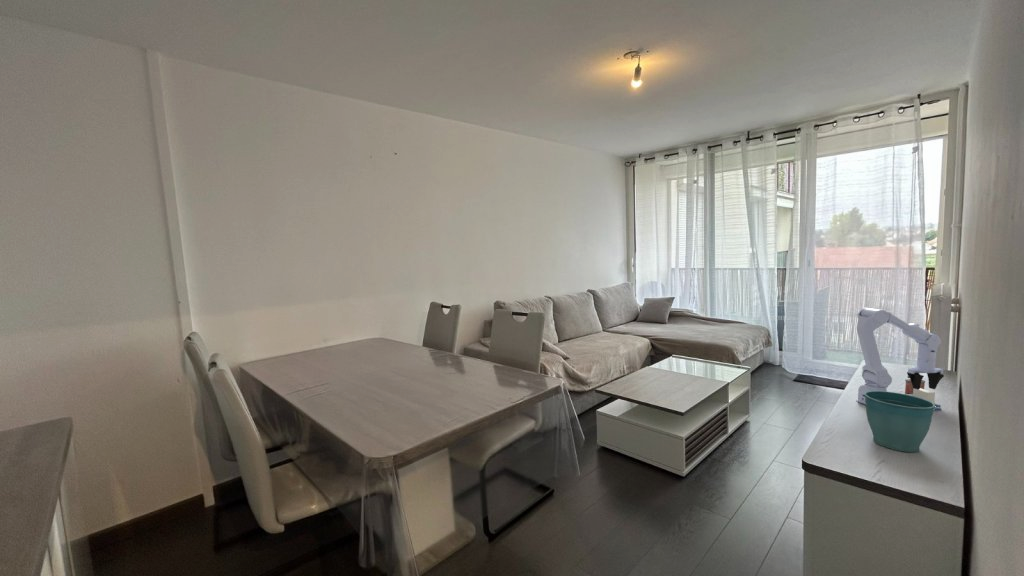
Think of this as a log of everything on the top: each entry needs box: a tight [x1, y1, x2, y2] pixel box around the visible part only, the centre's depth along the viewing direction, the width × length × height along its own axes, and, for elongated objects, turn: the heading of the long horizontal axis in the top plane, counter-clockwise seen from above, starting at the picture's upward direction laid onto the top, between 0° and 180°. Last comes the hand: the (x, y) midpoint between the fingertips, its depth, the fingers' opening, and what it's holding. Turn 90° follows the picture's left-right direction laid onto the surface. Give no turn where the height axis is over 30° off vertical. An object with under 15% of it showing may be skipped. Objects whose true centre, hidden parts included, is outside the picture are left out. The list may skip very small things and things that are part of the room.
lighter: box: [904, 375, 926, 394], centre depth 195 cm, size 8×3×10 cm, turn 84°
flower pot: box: [864, 391, 935, 453], centre depth 143 cm, size 18×18×17 cm
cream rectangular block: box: [913, 388, 936, 404], centre depth 182 cm, size 4×6×7 cm, turn 3°
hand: (924, 388), depth 182 cm, fingers open, 7 cm apart
